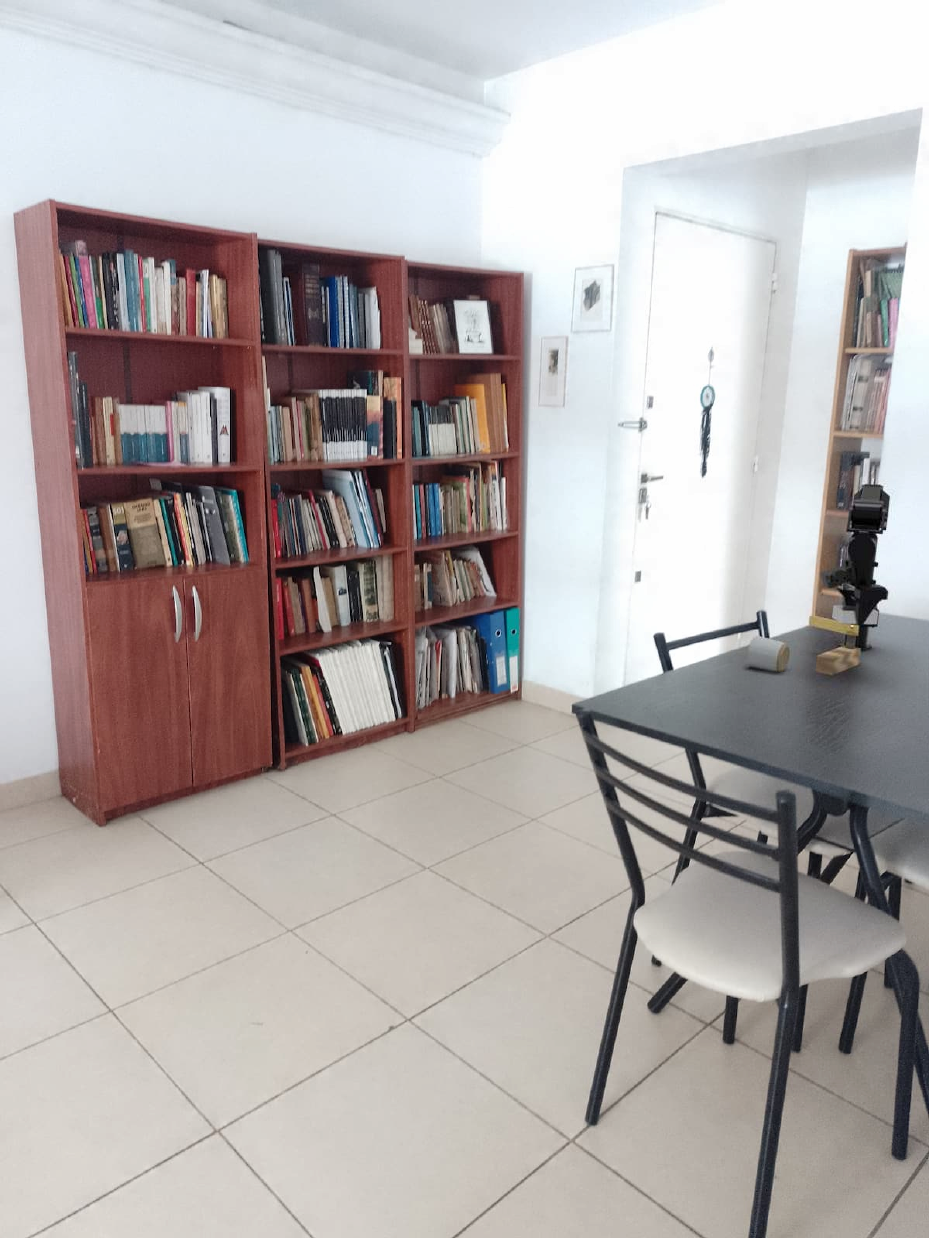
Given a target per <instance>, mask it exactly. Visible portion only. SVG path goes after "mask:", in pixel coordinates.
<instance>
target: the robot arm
mask: <svg viewBox="0 0 929 1238" xmlns="http://www.w3.org/2000/svg"><path fill="white" fill-rule="evenodd" d="M852 500H853V501H852V505H849V509H848V517H847V522H846V532H847V533H852V534H851V535H850V541H849V543H848V546H847V555H848V558H845V559H844V560H843V562H842V563H843V564H842V565H840V566H836V567H833V568H830V569H826V570H823V571H821V572H820V577H821V582H822V585H823V586H824V587H826V588H827V589H833V588H834V589H835V590H836V591H837V592H838V593H839V595H840V596H841V597H842V603H841V606H857V625H858V626H859V630H858V636H856V640H855V647H856V648H861V652H862V651H865V650H868V649H871V648H872V645H871V644H868V640H869V639H868V637H869V631H870V628H878V625H879V618H880V617H879V615H880V609H879V608H878V604H879V603H880V602H881V601H887V600H888V598H889V590H888V589H887V588H886V587H885V586H883V585H880V584H877V580H876V579H874V572H875V568H878V567H879V562H878V561H876V558H877V557H876V556H877V549H878V540H879V537H878V535H883V534H884V531H887V528H888V518H889V512H890V511H889V508H890V503H891V502H890V501H891V496H890V495H889V494H888V493H887V492H886V491H884V485H881V484H876V483H865V484H861V488H860V489H859V491H857V492H856V493H854V495H853V499H852ZM850 526H851V527H850ZM873 609H874V610H876V611H878V619H877V624H864V622H865V621H866V619H867V618H868V616H869V615H870V613H871V612H872V611H873ZM843 634H844V633H843ZM846 641H847V635H846V634H844V635H843V642H842V643H841V642H840V643H839V644H837V646H838V648H839V647H842V646H844V645H846Z"/></svg>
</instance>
